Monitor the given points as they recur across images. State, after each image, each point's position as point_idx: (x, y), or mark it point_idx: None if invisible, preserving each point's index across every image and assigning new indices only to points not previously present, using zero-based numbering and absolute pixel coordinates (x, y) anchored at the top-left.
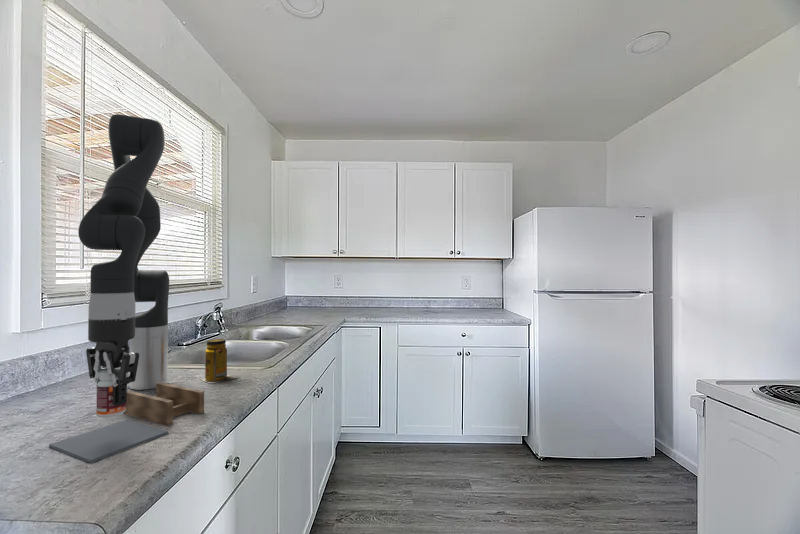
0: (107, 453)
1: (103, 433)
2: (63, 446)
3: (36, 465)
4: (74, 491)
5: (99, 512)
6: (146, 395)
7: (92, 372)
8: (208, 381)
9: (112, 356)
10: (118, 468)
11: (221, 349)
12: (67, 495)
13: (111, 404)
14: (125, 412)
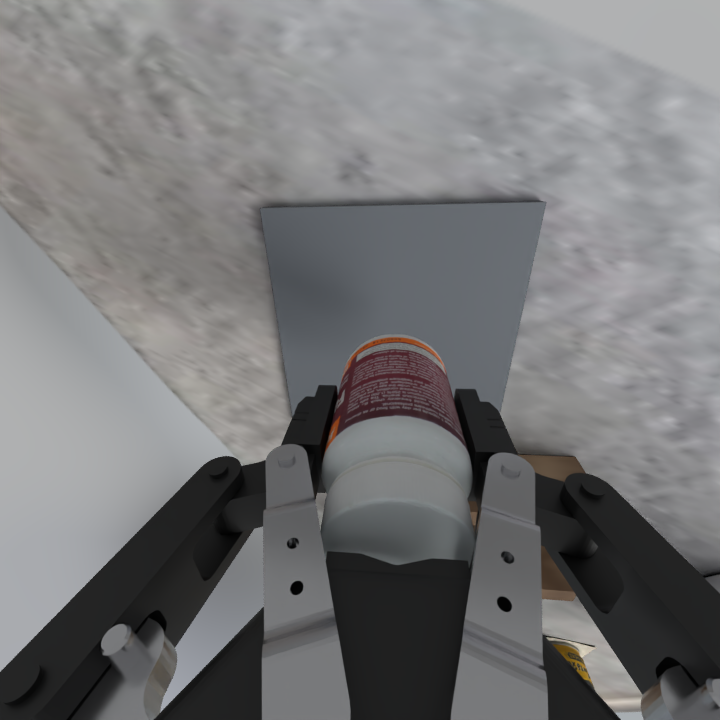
0: (271, 262)
1: (452, 341)
2: (468, 219)
3: (408, 90)
4: (79, 69)
5: None
6: None
7: (584, 511)
8: (554, 642)
9: (261, 698)
10: (159, 231)
11: None
12: (62, 39)
13: (344, 384)
14: (565, 460)
